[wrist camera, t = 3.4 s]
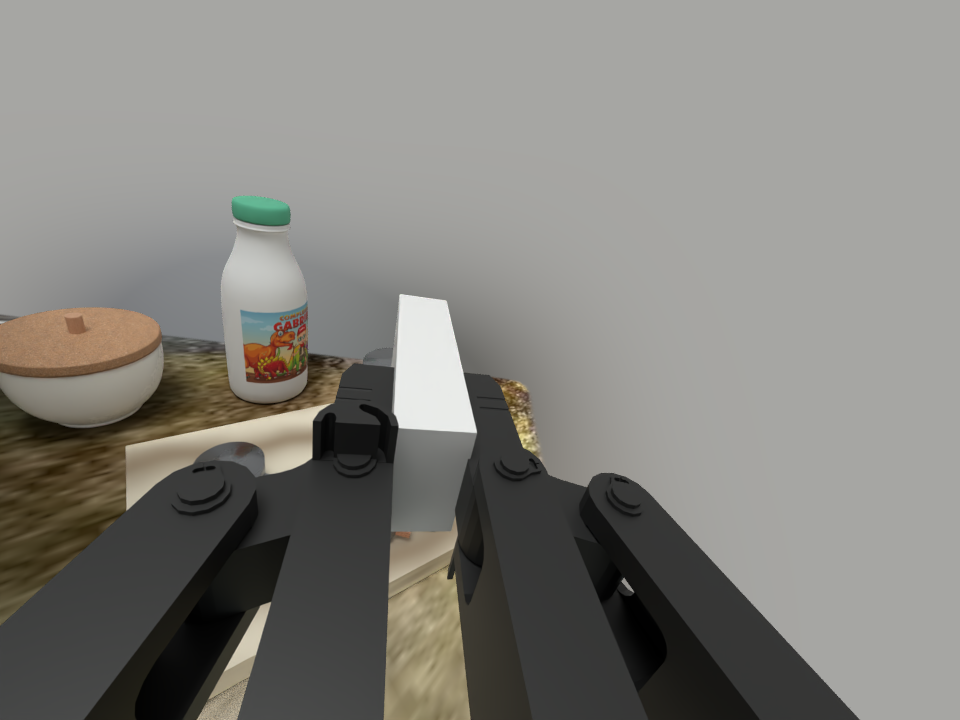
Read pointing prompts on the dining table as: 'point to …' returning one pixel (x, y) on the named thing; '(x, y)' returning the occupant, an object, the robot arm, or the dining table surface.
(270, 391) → the milk bottle
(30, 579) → the dining table surface
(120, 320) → the lidded jar
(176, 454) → the dial board
